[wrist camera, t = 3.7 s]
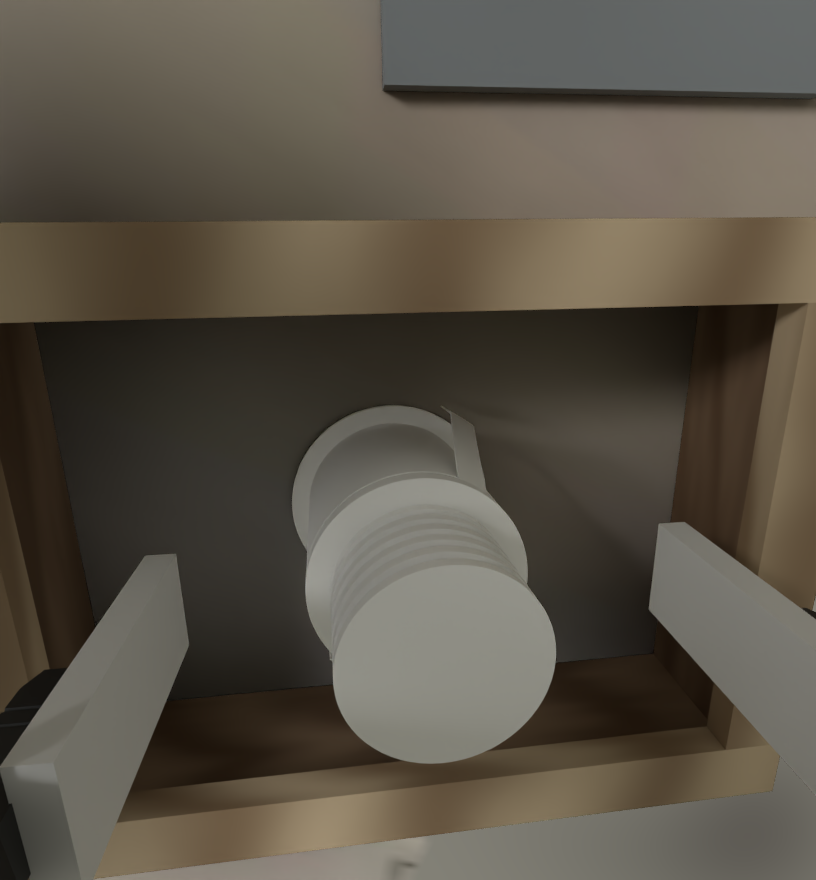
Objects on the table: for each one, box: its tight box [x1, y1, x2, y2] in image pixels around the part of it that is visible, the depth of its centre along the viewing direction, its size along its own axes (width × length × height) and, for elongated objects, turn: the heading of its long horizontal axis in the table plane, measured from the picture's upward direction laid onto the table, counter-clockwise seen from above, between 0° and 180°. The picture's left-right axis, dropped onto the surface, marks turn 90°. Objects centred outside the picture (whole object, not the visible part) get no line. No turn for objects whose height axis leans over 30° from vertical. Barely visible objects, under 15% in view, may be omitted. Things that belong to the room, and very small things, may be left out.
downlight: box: [292, 405, 556, 764], centre depth 16 cm, size 8×7×10 cm
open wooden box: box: [0, 217, 816, 880], centre depth 18 cm, size 24×18×6 cm
